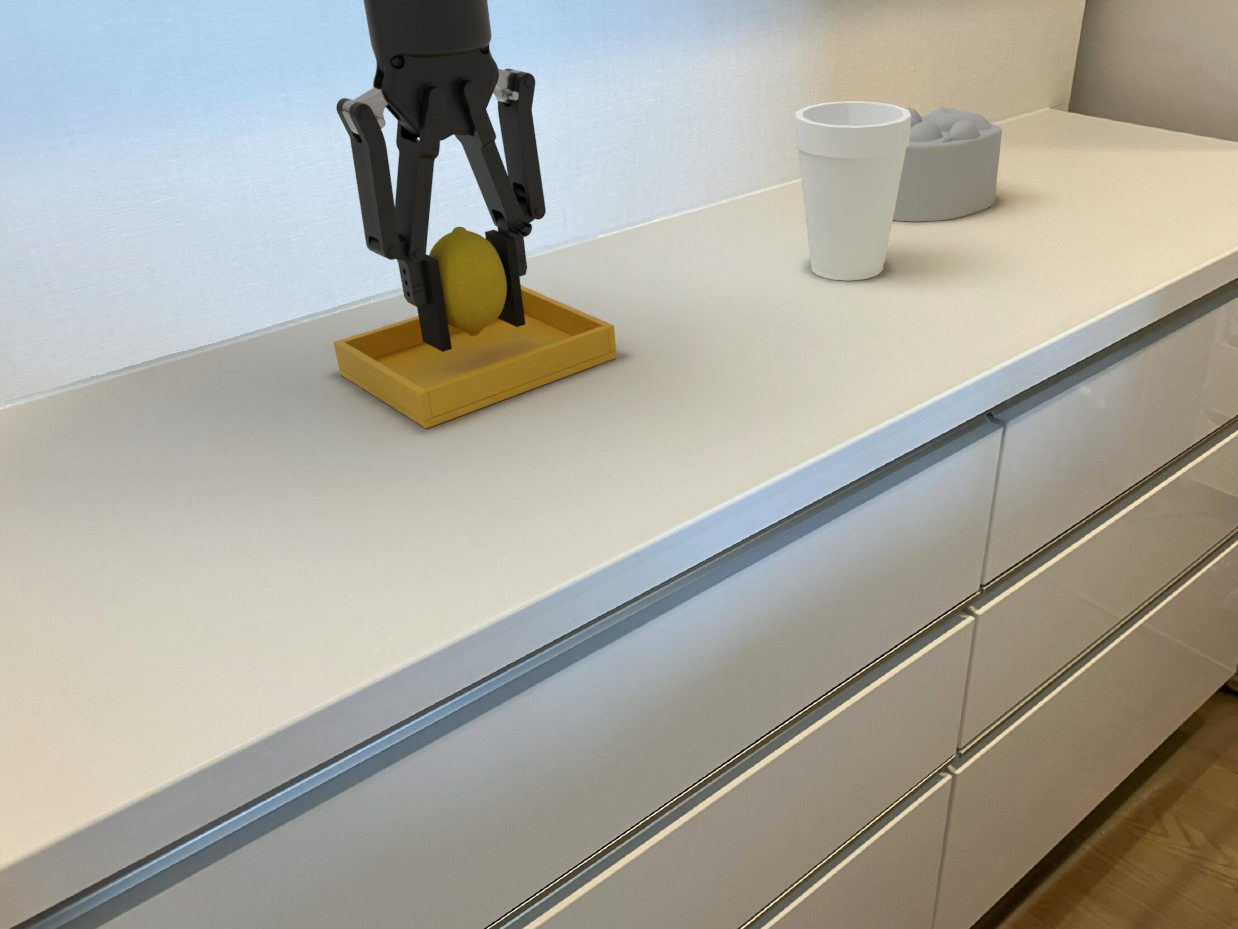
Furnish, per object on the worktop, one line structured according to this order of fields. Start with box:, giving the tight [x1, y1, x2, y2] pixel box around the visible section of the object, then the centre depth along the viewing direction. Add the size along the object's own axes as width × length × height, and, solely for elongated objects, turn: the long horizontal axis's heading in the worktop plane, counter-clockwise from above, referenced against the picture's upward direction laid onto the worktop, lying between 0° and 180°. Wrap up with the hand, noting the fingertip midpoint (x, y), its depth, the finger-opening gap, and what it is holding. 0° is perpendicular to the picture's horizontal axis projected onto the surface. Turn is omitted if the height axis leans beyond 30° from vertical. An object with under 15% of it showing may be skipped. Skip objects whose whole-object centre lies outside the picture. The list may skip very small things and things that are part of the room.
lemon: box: [428, 226, 507, 336], centre depth 81 cm, size 6×6×8 cm
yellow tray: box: [333, 284, 617, 429], centre depth 84 cm, size 16×12×3 cm
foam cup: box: [794, 100, 911, 282], centre depth 97 cm, size 10×9×13 cm
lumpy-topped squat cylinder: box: [893, 106, 1003, 222], centre depth 113 cm, size 10×13×9 cm
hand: (474, 332), depth 83 cm, fingers closed on lemon, 5 cm apart
